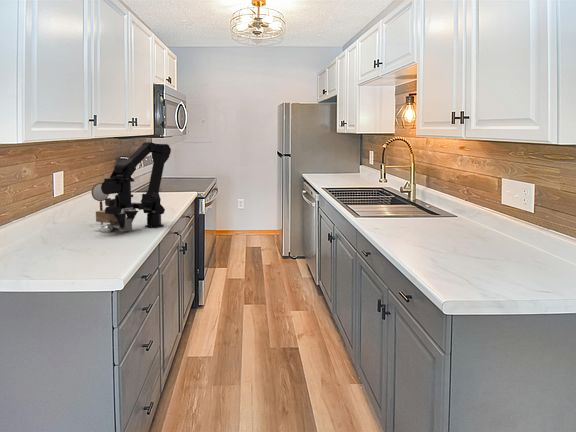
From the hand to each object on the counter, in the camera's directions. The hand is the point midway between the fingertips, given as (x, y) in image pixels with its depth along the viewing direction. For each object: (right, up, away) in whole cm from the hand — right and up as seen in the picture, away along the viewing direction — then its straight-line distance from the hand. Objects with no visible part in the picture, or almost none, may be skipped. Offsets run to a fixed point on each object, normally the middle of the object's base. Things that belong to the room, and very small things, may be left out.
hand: (125, 227), depth 240 cm
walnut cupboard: (-8, -1, +7) cm, 11 cm away
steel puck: (-9, -2, +2) cm, 9 cm away
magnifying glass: (-17, +1, +19) cm, 26 cm away
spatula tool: (-4, -1, +3) cm, 5 cm away
